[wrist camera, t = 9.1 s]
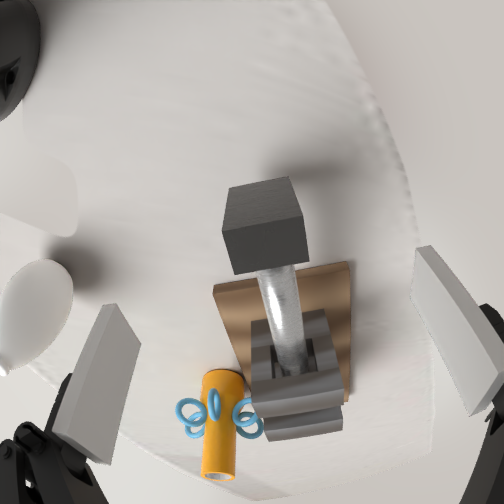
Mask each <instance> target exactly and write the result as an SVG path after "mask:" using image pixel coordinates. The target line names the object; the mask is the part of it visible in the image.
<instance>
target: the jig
mask: <svg viewBox="0 0 504 504" xmlns="http://www.w3.org/2000/svg"><path fill="white" fill-rule="evenodd" d="M295 274H296V280H297V287H298V293H299V299H300V306H301V312H302V319H303V326H304V333H305V340H306V347H307V354H308V361H309V369H310V373H306V374H300V375H294V376H288V377H282V374H281V370H280V366H279V362H278V358H277V354H276V350H275V346H274V342H273V338H272V334H271V330H270V326H269V322H268V318H267V314H266V310H265V306H264V302H263V298H262V294H261V291H260V287H259V283H258V279H257V278H253V279H247V280H242V281H236V282H230V283H224V284H218V285H214V288H213V297H214V299H215V302H216V305H217V308H218V310H219V313H220V316H221V318H222V321H223V323H224V326H225V329H226V331H227V334H228V336H229V339H230V342H231V344H232V347H233V349H234V352H235V354H236V357H237V359H238V362H239V364H240V367H241V369H242V372H243V374H244V377H245V379H246V382H247V384H248V386H249V389H250V391H251V404H252V406H253V408H254V410H255V413H256V415H257V417H258V418H263V419H264V432H265V435H266V437H267V439H268V441H269V442H271V441H280V440H288V439H295V438H302V437H308V436H314V435H320V434H326V433H331V432H336V431H341V430H342V428H343V416H342V411H341V405H344V402H348V398H349V378H350V344H351V301H350V269H349V267H348V265H347V263H346V261H345V262H340V263H335V264H329V265H324V266H319V267H314V268H308V269H303V270H298V271H295Z"/></svg>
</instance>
